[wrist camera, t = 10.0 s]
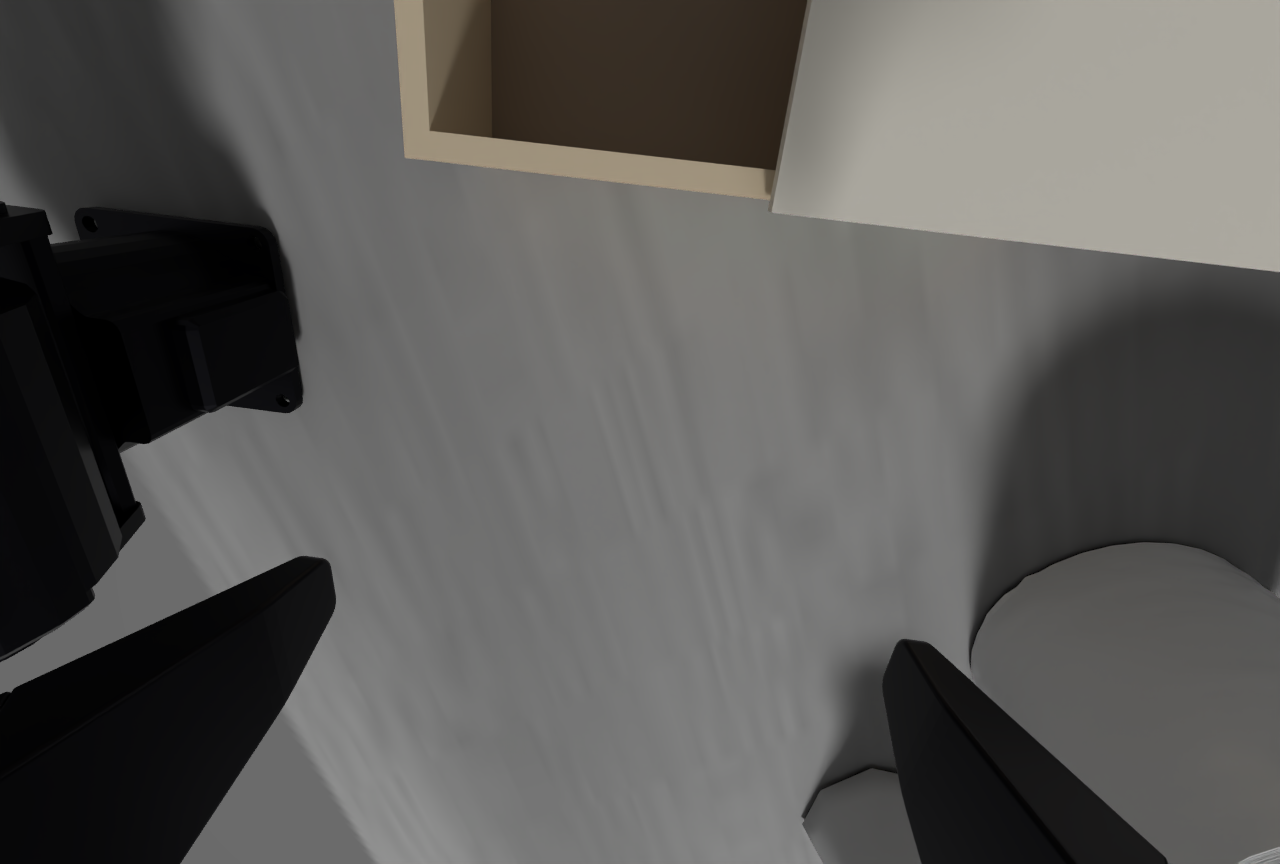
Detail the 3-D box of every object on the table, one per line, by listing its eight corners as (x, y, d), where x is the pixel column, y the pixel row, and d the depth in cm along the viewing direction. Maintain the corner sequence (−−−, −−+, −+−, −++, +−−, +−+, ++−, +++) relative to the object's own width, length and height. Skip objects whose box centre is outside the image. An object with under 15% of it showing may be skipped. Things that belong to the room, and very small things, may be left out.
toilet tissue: (1276, 511, 20) (1748, 793, 11) (1239, 737, 25) (1552, 1065, 16) (957, 568, 22) (1137, 844, 13) (977, 767, 27) (1122, 1071, 18)
